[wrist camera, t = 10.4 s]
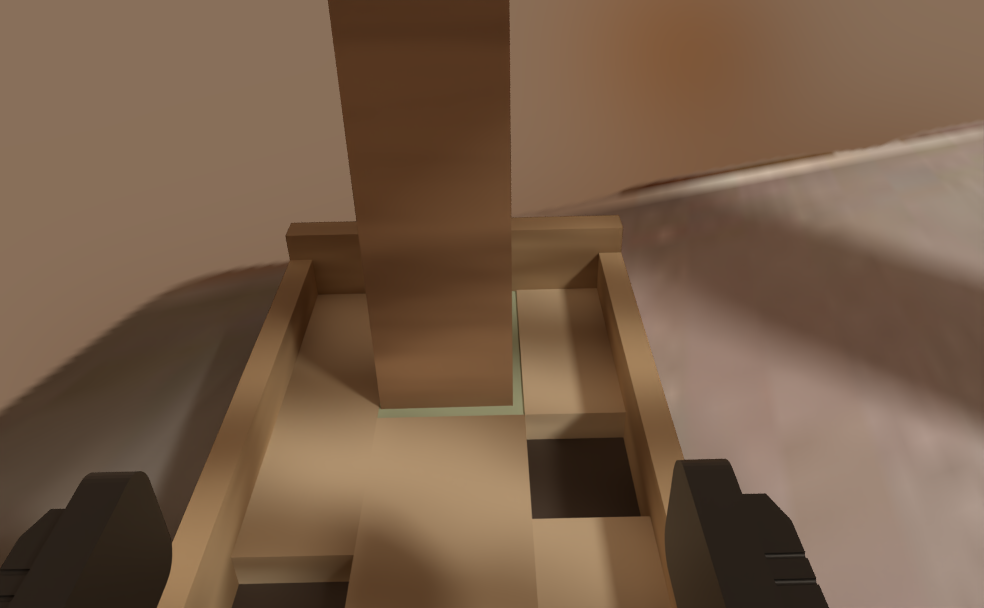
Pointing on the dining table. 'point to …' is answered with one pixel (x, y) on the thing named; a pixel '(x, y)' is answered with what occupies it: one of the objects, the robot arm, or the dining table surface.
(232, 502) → the tray
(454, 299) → the walnut block
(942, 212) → the dining table surface
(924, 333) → the dining table surface
